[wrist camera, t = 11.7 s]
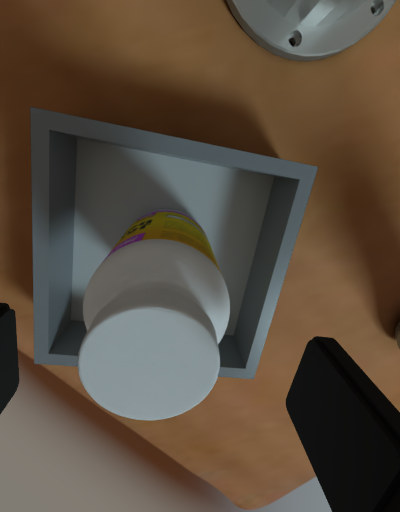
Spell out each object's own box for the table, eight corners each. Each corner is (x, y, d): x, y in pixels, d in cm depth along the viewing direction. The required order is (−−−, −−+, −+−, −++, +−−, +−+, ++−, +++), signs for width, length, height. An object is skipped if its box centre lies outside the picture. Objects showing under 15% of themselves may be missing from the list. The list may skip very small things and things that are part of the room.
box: (67, 122, 18) (30, 106, 13) (284, 166, 20) (318, 166, 16) (63, 322, 23) (34, 363, 18) (238, 339, 25) (253, 379, 20)
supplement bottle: (155, 189, 19) (117, 228, 7) (225, 240, 21) (292, 343, 9) (107, 259, 20) (6, 393, 8) (176, 301, 22) (175, 464, 10)
